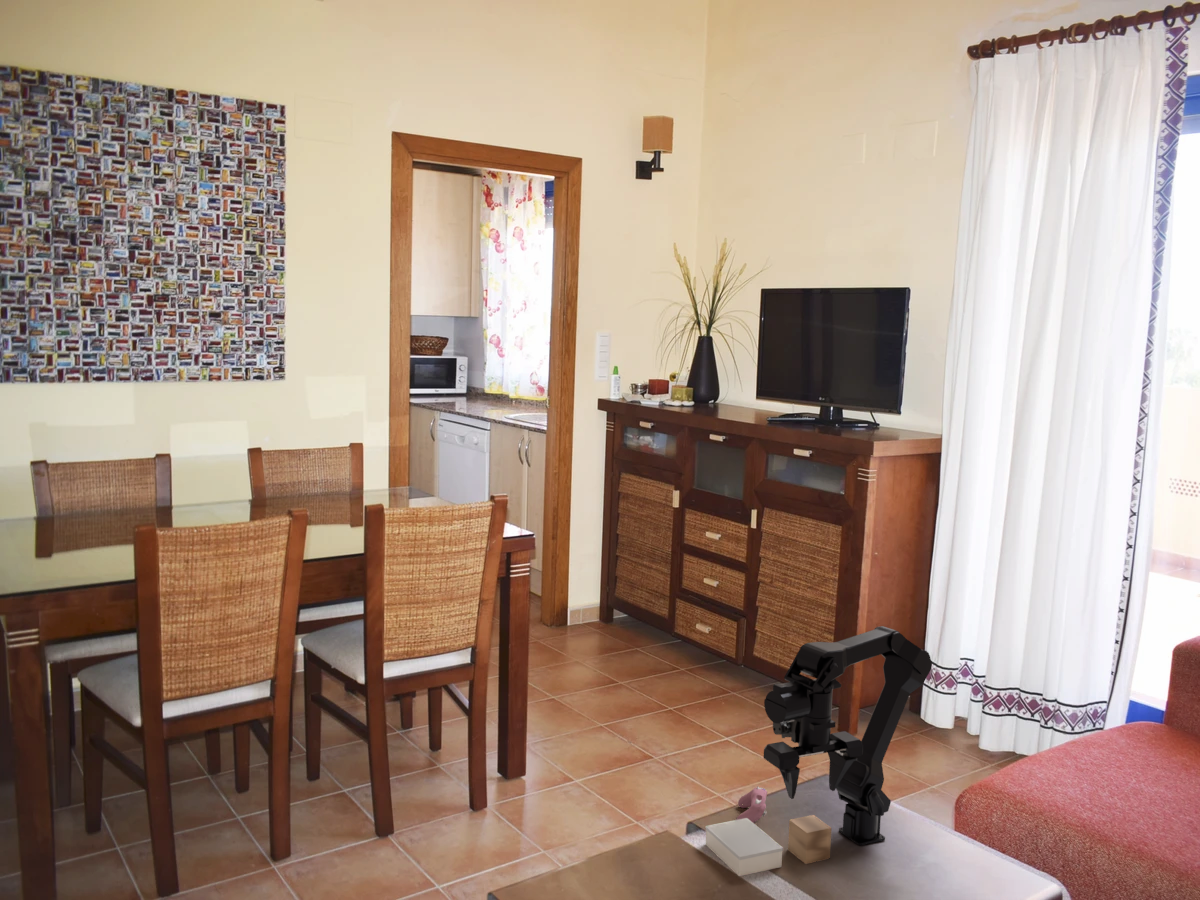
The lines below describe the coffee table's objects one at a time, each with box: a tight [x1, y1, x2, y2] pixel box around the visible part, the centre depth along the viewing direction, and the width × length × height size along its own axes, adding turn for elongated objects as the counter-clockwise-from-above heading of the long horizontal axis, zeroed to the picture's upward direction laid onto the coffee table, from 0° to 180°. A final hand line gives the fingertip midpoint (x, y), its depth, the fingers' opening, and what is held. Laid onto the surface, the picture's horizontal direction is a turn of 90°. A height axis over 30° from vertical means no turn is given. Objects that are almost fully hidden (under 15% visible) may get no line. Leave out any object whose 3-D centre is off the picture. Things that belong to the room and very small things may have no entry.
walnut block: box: [787, 814, 832, 865], centre depth 179 cm, size 6×6×6 cm
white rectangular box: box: [705, 818, 784, 877], centre depth 178 cm, size 9×12×4 cm
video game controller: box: [735, 785, 768, 824], centre depth 193 cm, size 10×5×7 cm, turn 168°
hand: (811, 794), depth 179 cm, fingers open, 9 cm apart
